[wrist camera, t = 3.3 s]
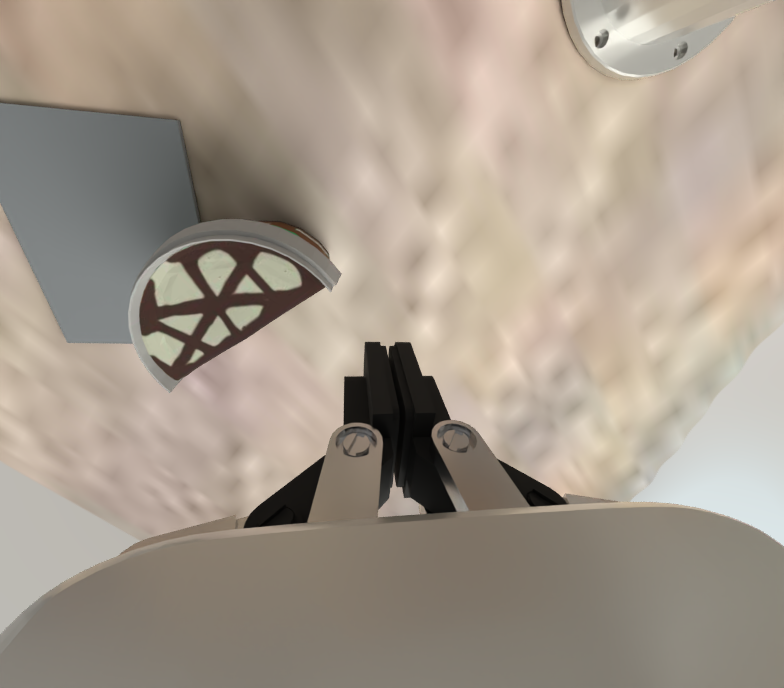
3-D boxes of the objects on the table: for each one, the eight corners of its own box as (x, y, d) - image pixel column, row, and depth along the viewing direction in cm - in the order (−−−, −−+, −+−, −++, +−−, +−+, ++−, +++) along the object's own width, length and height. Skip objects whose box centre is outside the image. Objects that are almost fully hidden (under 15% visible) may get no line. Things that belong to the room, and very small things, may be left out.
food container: (293, 165, 22) (254, 166, 13) (344, 243, 25) (340, 286, 16) (162, 260, 24) (55, 315, 15) (223, 322, 27) (162, 397, 18)
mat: (179, 120, 20) (176, 120, 20) (225, 342, 28) (223, 344, 27) (-43, 99, 18) (-51, 98, 18) (71, 340, 26) (67, 342, 26)
